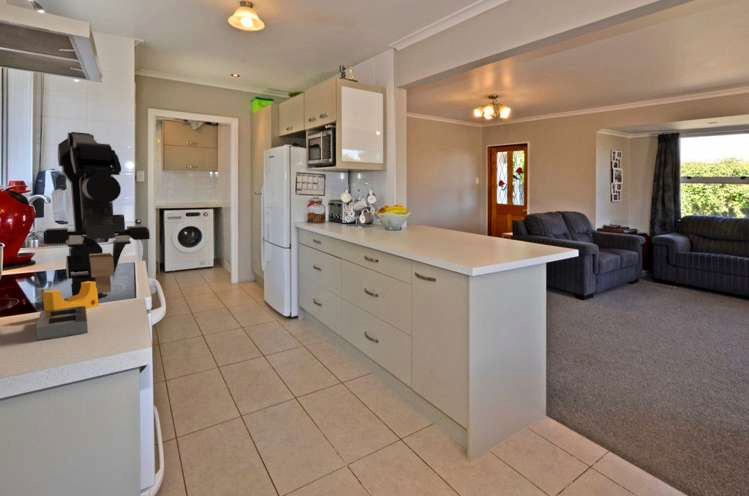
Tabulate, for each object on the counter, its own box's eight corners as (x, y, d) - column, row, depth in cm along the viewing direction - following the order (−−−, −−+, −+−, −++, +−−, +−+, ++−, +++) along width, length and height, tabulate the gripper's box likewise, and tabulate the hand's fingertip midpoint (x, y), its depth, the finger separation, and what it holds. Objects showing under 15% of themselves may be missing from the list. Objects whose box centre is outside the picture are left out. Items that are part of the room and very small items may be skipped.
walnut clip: (91, 286, 92) (89, 253, 91) (112, 284, 94) (110, 252, 93) (93, 293, 85) (90, 258, 84) (115, 291, 87) (113, 257, 86)
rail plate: (41, 322, 89) (40, 311, 89) (86, 316, 94) (85, 305, 94) (37, 340, 78) (36, 327, 78) (87, 332, 83) (86, 320, 83)
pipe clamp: (83, 305, 104) (81, 280, 103) (98, 306, 103) (96, 281, 102) (38, 319, 92) (35, 291, 91) (54, 320, 91) (52, 292, 91)
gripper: (38, 202, 75) (45, 284, 77) (151, 202, 86) (155, 274, 88) (42, 201, 84) (48, 275, 86) (144, 202, 95) (148, 267, 97)
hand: (102, 273), depth 89 cm, fingers closed on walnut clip, 4 cm apart
